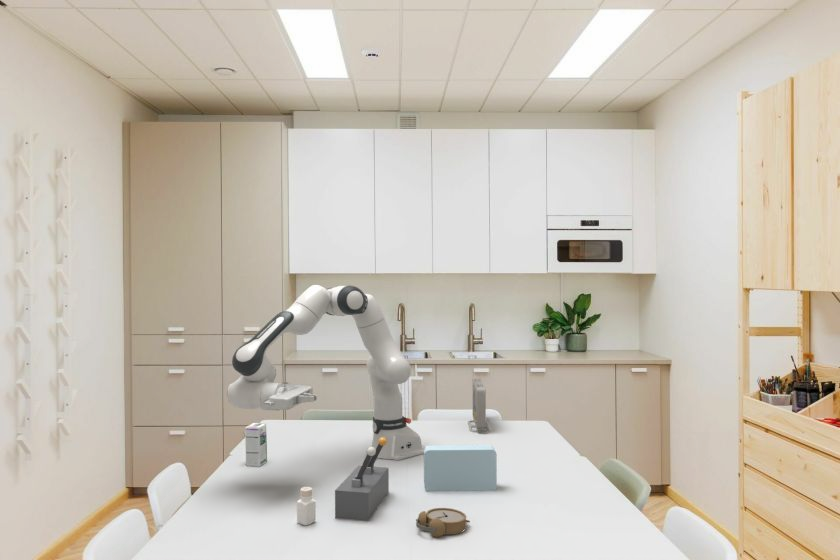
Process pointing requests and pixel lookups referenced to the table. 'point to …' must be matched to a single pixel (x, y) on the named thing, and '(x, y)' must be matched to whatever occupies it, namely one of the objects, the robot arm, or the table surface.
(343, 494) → the switch box
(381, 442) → the orange lever
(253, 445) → the syrup box
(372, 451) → the grey lever
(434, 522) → the alarm clock
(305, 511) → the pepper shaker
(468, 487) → the light blue rounded box
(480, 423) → the network device
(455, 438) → the table surface
